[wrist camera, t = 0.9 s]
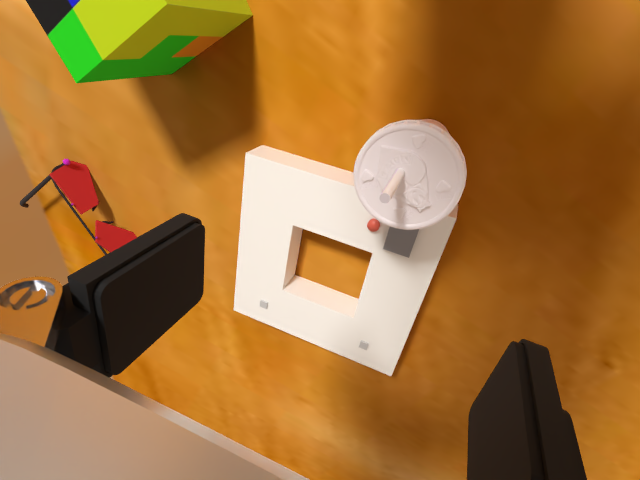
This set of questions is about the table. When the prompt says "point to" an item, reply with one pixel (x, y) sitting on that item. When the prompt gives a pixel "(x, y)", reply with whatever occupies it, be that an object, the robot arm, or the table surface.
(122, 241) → the glasses
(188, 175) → the table surface
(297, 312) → the socket plate
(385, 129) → the smoothie
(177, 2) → the puzzle toy
